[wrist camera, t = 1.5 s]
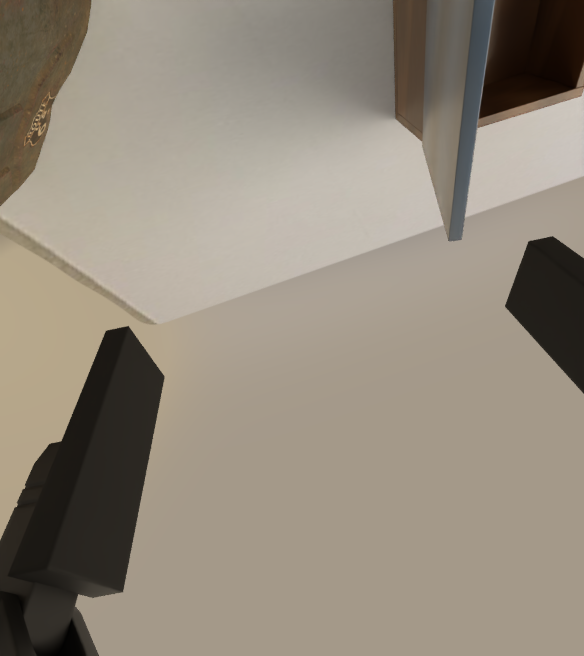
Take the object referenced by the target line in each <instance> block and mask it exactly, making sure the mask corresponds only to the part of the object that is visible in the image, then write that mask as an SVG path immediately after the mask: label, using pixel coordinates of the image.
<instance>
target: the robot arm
mask: <svg viewBox="0 0 584 656" xmlns="http://www.w3.org/2000/svg"><path fill="white" fill-rule="evenodd" d="M505 307H506V308H507V309H508V310H509V311H510V313H511V314H512V315H513V316H514V317H515V318H516V319H517V320H518V321H519V323H520V324H521V325H522V326H523V327H524V328H525V329H526V330H527V331H528V332H529V333H530V335H531V336H532V337H533V338H534V339H535V340H536V341H537V342H538V344H539V345H540V346H541V347H542V348H543V349H544V350H545V351H546V352H547V353H548V355H549V356H550V357H551V358H552V359H553V360H554V361H555V362H556V363H557V364H558V366H559V367H560V368H561V369H562V370H563V371H564V372H565V373H566V374H567V375H568V377H569V378H570V379H571V380H572V381H573V382H574V383H575V384H576V385H577V387H578V388H579V389H580V390H581V391H582V392H583V393H584V258H582V257H581V256H580V255H578V254H577V253H575V252H574V251H573V250H571V249H570V248H568V247H567V246H566V245H564V244H563V243H561V242H560V241H559V240H557V239H556V238H554V237H553V236H552V237H547V238H543V239H538V240H533V241H529V242H528V245H527V247H526V250H525V253H524V256H523V258H522V261H521V264H520V266H519V269H518V272H517V275H516V277H515V280H514V283H513V286H512V288H511V291H510V294H509V297H508V299H507V302H506V305H505ZM163 382H164V375H163V374H162V372H161V371H160V370H159V368H158V367H157V365H156V364H155V363H154V362H153V360H152V358H151V357H150V356H149V354H148V353H147V352H146V350H145V349H144V347H143V346H142V344H141V343H140V342H139V340H138V339H137V338H136V336H135V335H134V333H133V332H132V330H131V329H130V328H129V326H127V327H122V328H117V329H113V330H108V331H106V332H105V335H104V337H103V340H102V342H101V345H100V347H99V350H98V352H97V354H96V357H95V359H94V362H93V365H92V367H91V369H90V372H89V374H88V377H87V380H86V382H85V384H84V387H83V389H82V392H81V394H80V397H79V399H78V402H77V405H76V407H75V409H74V412H73V414H72V417H71V419H70V422H69V424H68V426H67V429H66V431H65V434H64V437H63V439H62V441H61V442H57V443H52V444H49V445H48V447H47V448H46V449H45V451H44V452H43V453H42V454H41V456H40V457H39V458H38V460H37V461H36V462H35V464H34V466H33V468H32V470H31V472H30V475H29V477H28V479H27V481H26V484H25V486H26V487H25V489H23V490H22V493H21V495H20V497H19V500H18V502H17V503H18V506H17V507H15V508H14V511H13V513H12V515H11V517H10V520H9V522H8V524H7V526H6V529H5V531H4V533H3V536H2V538H1V540H0V656H99V655H98V653H97V650H96V648H95V645H94V643H93V641H92V638H91V636H90V634H89V631H88V629H87V626H86V624H85V622H84V620H83V617H82V615H81V613H80V612H79V610H78V609H77V608H76V607H75V603H76V600H77V596H78V594H80V595H84V596H88V597H92V598H94V597H99V596H105V595H109V594H115V593H120V592H123V589H124V584H125V579H126V574H127V568H128V563H129V558H130V553H131V548H132V542H133V537H134V532H135V527H136V521H137V517H138V512H139V506H140V501H141V496H142V491H143V486H144V481H145V475H146V470H147V465H148V460H149V454H150V449H151V444H152V439H153V434H154V429H155V424H156V418H157V413H158V408H159V403H160V397H161V393H162V387H163Z"/></svg>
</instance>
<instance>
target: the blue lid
mask: <svg viewBox="0 0 584 656" xmlns="http://www.w3.org/2000/svg"><path fill="white" fill-rule="evenodd" d="M494 5H495V0H427V13H426V45H425V76H424V107H423V139H422V147H423V151H424V155H425V158H426V162H427V165H428V169H429V173H430V176H431V180H432V183H433V187H434V191H435V194H436V198H437V201H438V205H439V209H440V212H441V216H442V219H443V223H444V227H445V230H446V234H447V237H448V241H456V240H461V239H462V233H463V227H464V220H465V213H466V205H467V198H468V191H469V184H470V177H471V170H472V162H473V155H474V148H475V141H476V134H477V127H478V120H479V112H480V105H481V98H482V91H483V84H484V77H485V69H486V62H487V55H488V48H489V41H490V34H491V26H492V19H493V12H494Z"/></svg>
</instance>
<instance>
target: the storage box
mask: <svg viewBox="0 0 584 656" xmlns="http://www.w3.org/2000/svg"><path fill="white" fill-rule="evenodd" d="M426 13H427V0H393V18H394V65H395V111H396V120H398V121H399V122H400V123H401V124H402V125H403V126H404V127H406V128H407V129H408V130H409V131H410V132H411V133H413V134H414V135H415V136H416V137H417V138H418V139H420V140H421V141H422V139H423V107H424V76H425V45H426ZM583 89H584V0H495V5H494V12H493V19H492V26H491V34H490V41H489V48H488V55H487V62H486V69H485V77H484V84H483V91H482V98H481V105H480V112H479V120H478V127H477V128H479V127H482V126H485V125H489V124H492V123H495V122H498V121H502V120H505V119H508V118H511V117H515V116H518V115H521V114H524V113H528V112H531V111H534V110H537V109H541V108H544V107H547V106H551V105H554V104H557V103H560V102H564V101H567V100H570V99H573V98H577V97H580V96H581V95H582V92H583Z"/></svg>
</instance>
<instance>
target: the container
mask: <svg viewBox="0 0 584 656" xmlns="http://www.w3.org/2000/svg"><path fill="white" fill-rule="evenodd" d="M90 9H91V0H0V206H1V205H2V204H3V203H4V202H5V201H6V200H7V199H8V198H9V197H10V196H11V195H12V194H13V193H14V192H15V191H16V190H17V189H19V187H20V186H21V185H22V184H23V183H24V181H25V180H26V179H27V178H28V177H29V175H30V174H31V173H32V172H33V170H34V169H35V166H36V163H37V160H38V157H39V154H40V151H41V148H42V145H43V142H44V139H45V136H46V133H47V130H48V126H49V121H50V116H51V107H52V104H53V102H54V100H55V98H56V96H57V94H58V92H59V90H60V88H61V86H62V85H63V83H64V82H65V80H66V79H67V77H68V76H69V74H70V72H71V70H72V68H73V65H74V63H75V60H76V58H77V55H78V53H79V50H80V48H81V45H82V43H83V40H84V38H85V36H86V33H87V29H88V22H89V15H90Z"/></svg>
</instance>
